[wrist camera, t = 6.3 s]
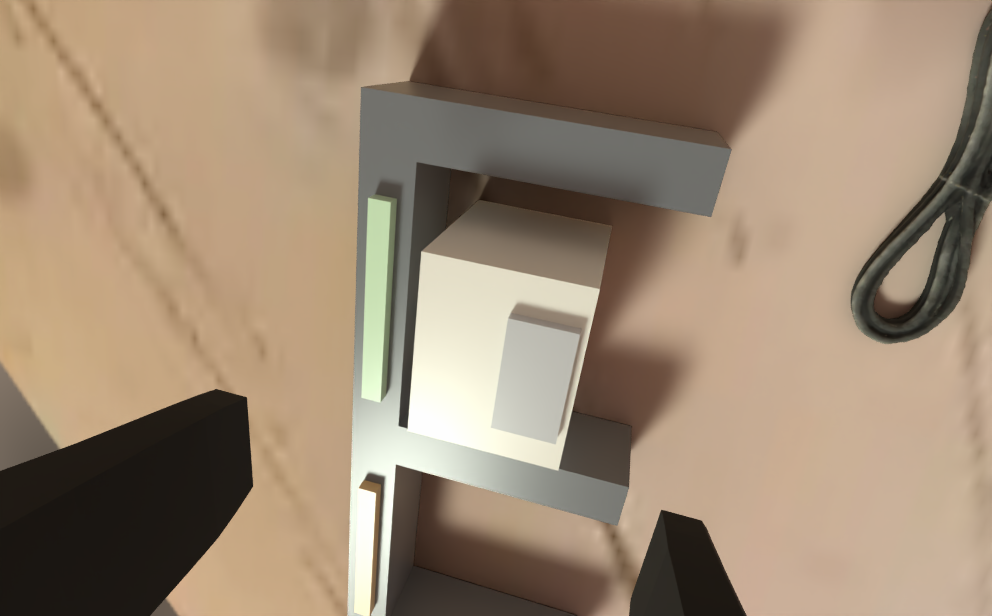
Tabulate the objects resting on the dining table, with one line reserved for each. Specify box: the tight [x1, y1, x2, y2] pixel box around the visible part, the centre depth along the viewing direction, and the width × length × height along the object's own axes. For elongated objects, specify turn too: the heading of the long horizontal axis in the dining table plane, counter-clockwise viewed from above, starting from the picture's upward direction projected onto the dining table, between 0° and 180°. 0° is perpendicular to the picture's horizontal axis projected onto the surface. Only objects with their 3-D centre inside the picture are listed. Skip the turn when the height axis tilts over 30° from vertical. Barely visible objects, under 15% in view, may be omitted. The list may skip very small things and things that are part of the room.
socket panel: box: [348, 81, 732, 616], centre depth 18 cm, size 8×20×3 cm, turn 172°
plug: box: [408, 200, 612, 471], centre depth 16 cm, size 4×5×5 cm
